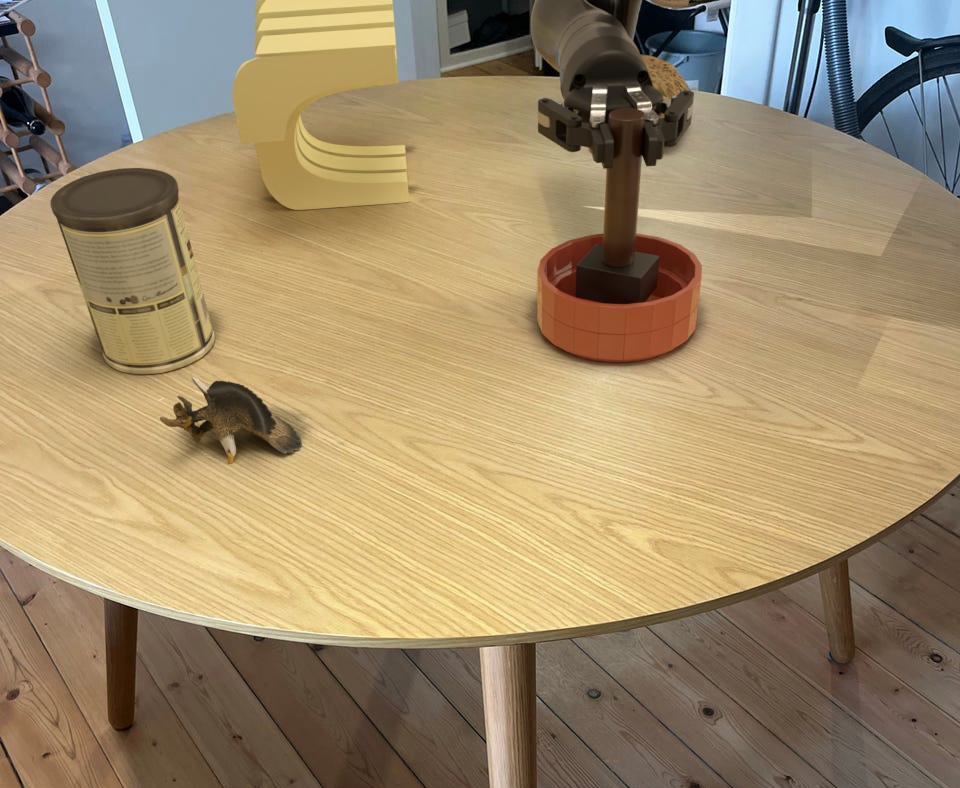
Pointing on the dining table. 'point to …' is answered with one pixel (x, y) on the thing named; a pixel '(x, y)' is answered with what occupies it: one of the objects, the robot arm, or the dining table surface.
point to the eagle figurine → (233, 417)
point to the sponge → (664, 77)
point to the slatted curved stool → (306, 78)
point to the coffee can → (135, 268)
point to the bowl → (618, 325)
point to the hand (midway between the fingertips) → (631, 154)
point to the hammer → (620, 224)
